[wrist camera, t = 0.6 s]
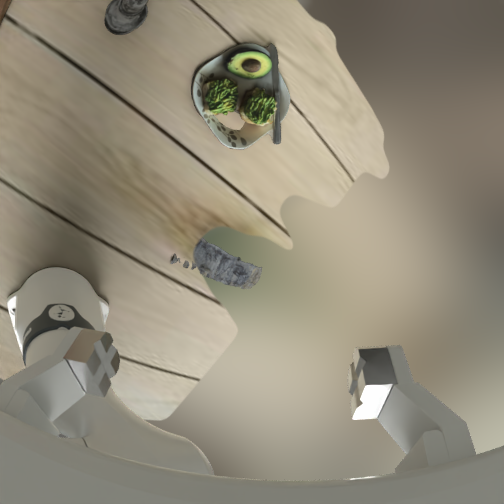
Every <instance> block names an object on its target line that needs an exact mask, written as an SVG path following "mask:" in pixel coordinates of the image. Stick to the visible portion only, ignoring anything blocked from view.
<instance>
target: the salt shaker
mask: <svg viewBox="0 0 504 504" xmlns="http://www.w3.org/2000/svg"><path fill="white" fill-rule="evenodd" d="M147 2H148V0H113V1H112V2H111V3H110V4H109V5H108V7H107V9H106V14H105V15H106V16H105V26H106V28H107V29H108V30H109V31H110V32H111V33H113V34H117V35H123V34H127V33H130V32H131V31H133V30H134V29H136V28H138V27H139V26H140V25H141V24H142V23H143V22H144V21H145V19H146V17H147V13H148V10H147V5H146V3H147Z"/></svg>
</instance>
